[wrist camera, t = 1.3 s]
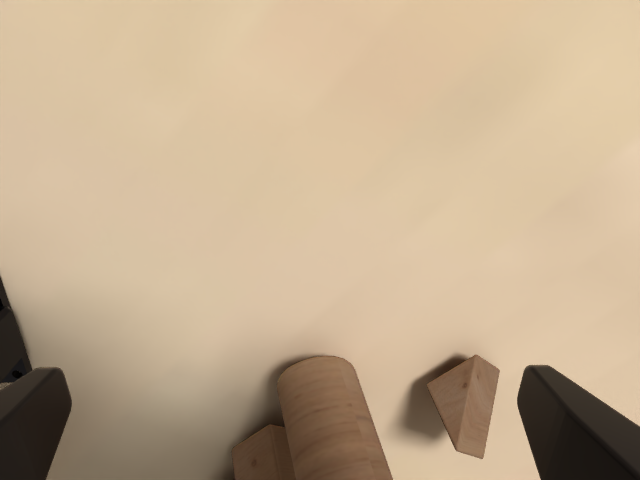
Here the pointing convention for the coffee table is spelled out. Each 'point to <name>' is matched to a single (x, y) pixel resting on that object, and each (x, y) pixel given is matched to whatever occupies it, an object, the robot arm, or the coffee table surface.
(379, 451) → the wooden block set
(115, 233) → the coffee table surface
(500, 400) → the coffee table surface
